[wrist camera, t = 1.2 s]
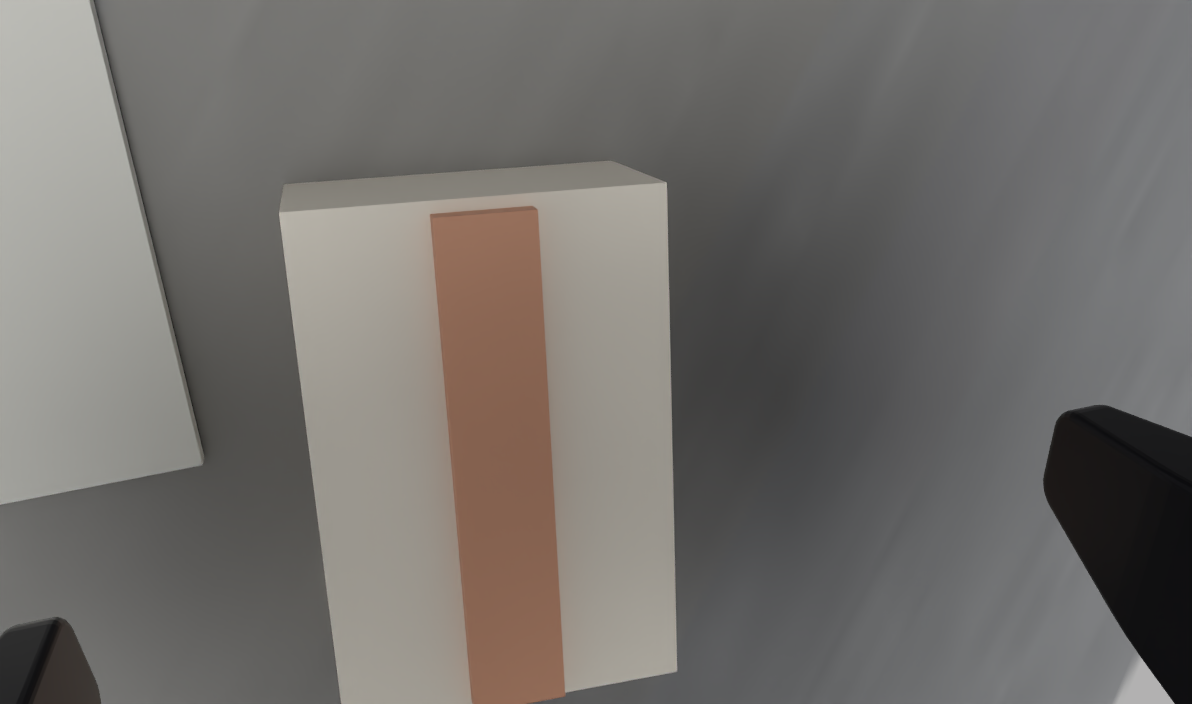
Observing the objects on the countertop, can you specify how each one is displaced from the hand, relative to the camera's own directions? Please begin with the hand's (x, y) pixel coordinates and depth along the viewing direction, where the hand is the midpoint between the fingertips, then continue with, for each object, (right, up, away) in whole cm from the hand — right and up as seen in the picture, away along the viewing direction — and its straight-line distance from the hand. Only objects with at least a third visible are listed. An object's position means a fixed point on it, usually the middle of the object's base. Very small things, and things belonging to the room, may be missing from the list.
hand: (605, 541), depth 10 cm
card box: (-3, +1, +12) cm, 12 cm away
